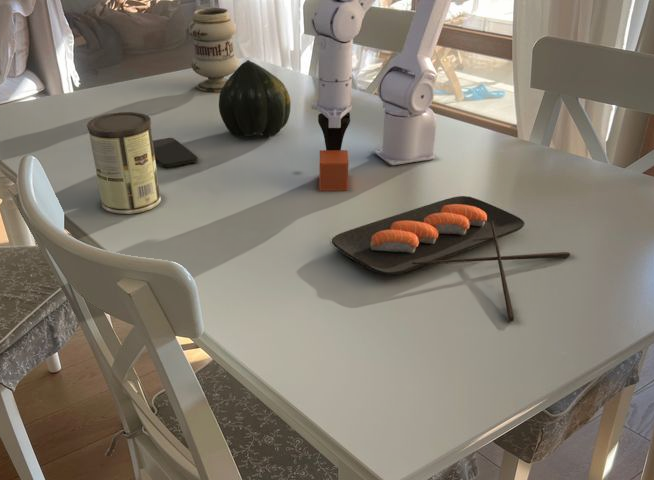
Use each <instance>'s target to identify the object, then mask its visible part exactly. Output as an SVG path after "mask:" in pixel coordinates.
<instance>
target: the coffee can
mask: <svg viewBox="0 0 654 480" xmlns="http://www.w3.org/2000/svg"><path fill="white" fill-rule="evenodd" d="M151 125H152V118H151V117H150V116H149V115H147V114H145V113H141V112H133V111H123V112H122V111H121V112H120V111H119V112H111V113H106V114H103V115H99V116H96V117H94V118H92V119H90V120H89V121H88V122H86V129H87V131H88V135H89V139H90V145H91V151H92V156H93V162H94V167H95V171H96V178H97V183H98V187H99V188H98V189H99V193H100V194H99V195H100V200H101V206H102V208H103V210H104V211H107V212H109V213H112V214H116V215H117V214H118V215H130V214H131V215H132V214H139V213H143V212H146V211H150V210H152V209H154V208H156V207H157V206H159V204H160V203H161V200H162V197H161V193H160V186H159V179H158V178H159V177H158V169H157V163H156V162H157V161H155V155H154V147H153V140H154V139H153V133H152V126H151Z"/></svg>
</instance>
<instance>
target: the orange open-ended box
mask: <svg viewBox="0 0 654 480" xmlns="http://www.w3.org/2000/svg"><path fill="white" fill-rule="evenodd" d="M318 166H319V167H318V168H319V169H318V170H319V173H318V174H319V175H318V176H319V177H318V180H319V181H318V183H319V184H318V190H319V191H320V192H321V191H348V188H349V151H348V150H347V149H341V150H326V149H325V150H323V149H320V150H319V165H318Z"/></svg>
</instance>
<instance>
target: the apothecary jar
mask: <svg viewBox="0 0 654 480" xmlns="http://www.w3.org/2000/svg"><path fill="white" fill-rule="evenodd" d="M192 19H193V20H192V21H191V22H190V23H189V25H188V33H189V35H190V37H192V38H193V41H194V56H193V58H192V59H191V63H190V65H191V69H192V71H193V72H194V73H195V74H197V75H198V76H201V77H203V78H207V79H205V80H203V81H201V82H199V83H198V84H197V89H198V90H200V91H202V92H213V93H220V92H221V90H222V88H223V86H224V85H225V83H226V82H227V80H228V79H229V78H225V77H228V76H231V75H232V74H233V73H234V72H235V71H236V70H237V69H238V67H239V66H240V60H239V58H238V57H237V55H236V54H235V53H234V44H233V36H234V35H235V34H236V31H237V25H236V22H234V20H233V19H231V18H230V14H229V10H228V9H227V8H223V7H209V8H201V9H197V10H194V12H193V18H192Z"/></svg>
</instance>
